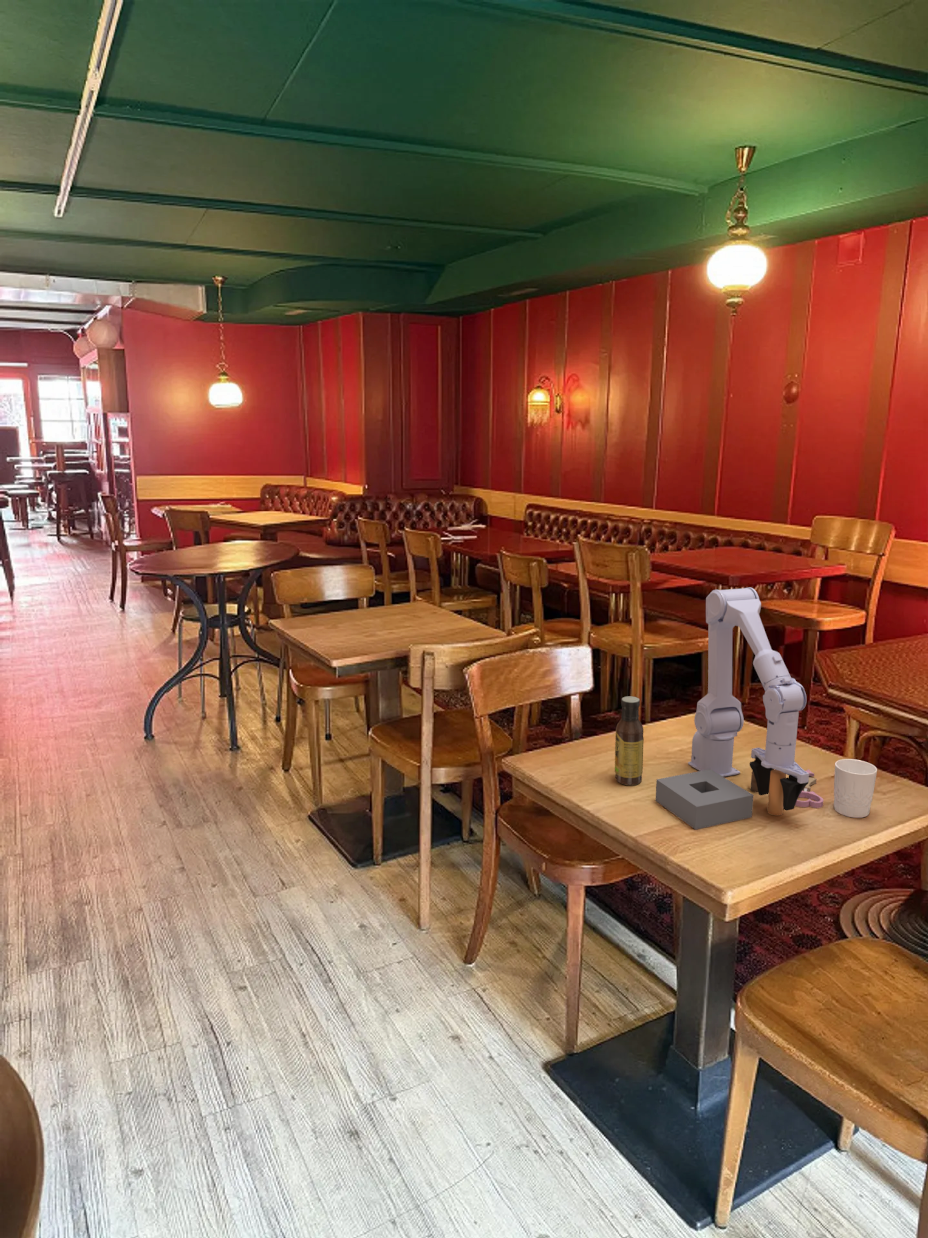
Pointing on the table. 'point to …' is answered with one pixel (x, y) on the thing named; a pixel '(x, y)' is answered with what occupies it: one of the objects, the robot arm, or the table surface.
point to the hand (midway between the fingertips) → (775, 801)
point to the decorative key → (810, 795)
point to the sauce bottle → (629, 743)
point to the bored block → (704, 798)
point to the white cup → (853, 787)
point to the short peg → (753, 783)
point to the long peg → (775, 793)
